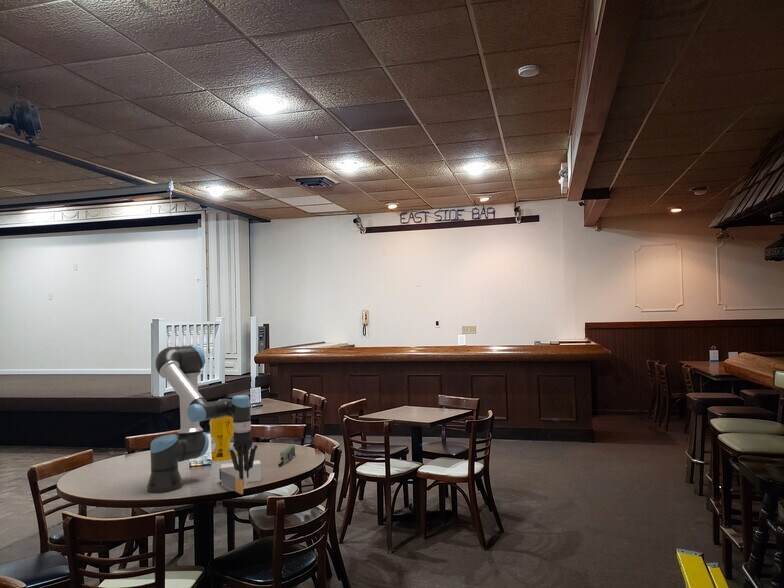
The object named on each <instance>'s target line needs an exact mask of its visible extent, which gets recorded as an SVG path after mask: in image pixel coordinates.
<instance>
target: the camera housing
mask: <svg viewBox="0 0 784 588" xmlns="http://www.w3.org/2000/svg"><path fill="white" fill-rule="evenodd" d="M218 470H219V472H218V473H219V474H218V475H219V480H220V481H221V471H222V470H223V471H225V472H227V473H229V474H231V475H234V476H236V477H238V478H239V471H237V470H235V469H234V465H233V462H230V463H228V462H227V463H221V464H220V468H219V469H218ZM243 470H244V461H243ZM248 472H249V477H248V478H247V484H248V483H255V482H261V481H262V463H261V460H260V459H258V460H254V462H253V467H252V468H250V470H249V471H248Z"/></svg>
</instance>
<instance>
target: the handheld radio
mask: <svg viewBox="0 0 784 588" xmlns="http://www.w3.org/2000/svg"><path fill="white" fill-rule="evenodd" d="M279 454H280V456H279V457H280V462H279V463H278V464H277V465H278V467H281V466H282V465H286V464H287V463H289V462H290V461H291V460H292V459H293V458H292V457H293V456H294V455H295V456H296V446H295V444H290V445H289V446H287V447H285V448H284V449H282V451H281V452H280V453H279ZM291 458H292V459H291ZM290 459H291V460H290ZM289 460H290V461H289ZM288 461H289V462H288ZM285 463H286V464H285Z"/></svg>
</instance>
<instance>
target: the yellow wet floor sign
mask: <svg viewBox="0 0 784 588" xmlns="http://www.w3.org/2000/svg"><path fill="white" fill-rule="evenodd" d="M208 425H209V428H210V429H209V431H210V432H209V434H210V436H211V438H212V440H213V441H214V443H215V446H214V447H215V448H214V450H213V451H211V453H212V460H213V462H220V461H221V462H224V460H225V461H231V460H232V458H231V454H230V453H229V452H228V450H229V449H231V448H232V447H231V440H232V438H233V437H234V434H233V433H234V431H233V417H221V418H216V419H210V420H209V422H208ZM234 453H235V455H236V458H237V459H238V454H237V451H236V450H235V452H234ZM230 459H231V460H230ZM212 460H211V461H212Z"/></svg>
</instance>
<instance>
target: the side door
mask: <svg viewBox="0 0 784 588" xmlns="http://www.w3.org/2000/svg"><path fill="white" fill-rule="evenodd" d="M220 484H221V486H225V487H226V488H228V489H231V490H232V491H234V492H236V493H238V494H239V495H243V494H244V487H243V479H240V478H238V477H236V476H234V475H231V474H229V473H227V472H225V471H223V470H222V471H221V480H220Z"/></svg>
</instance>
